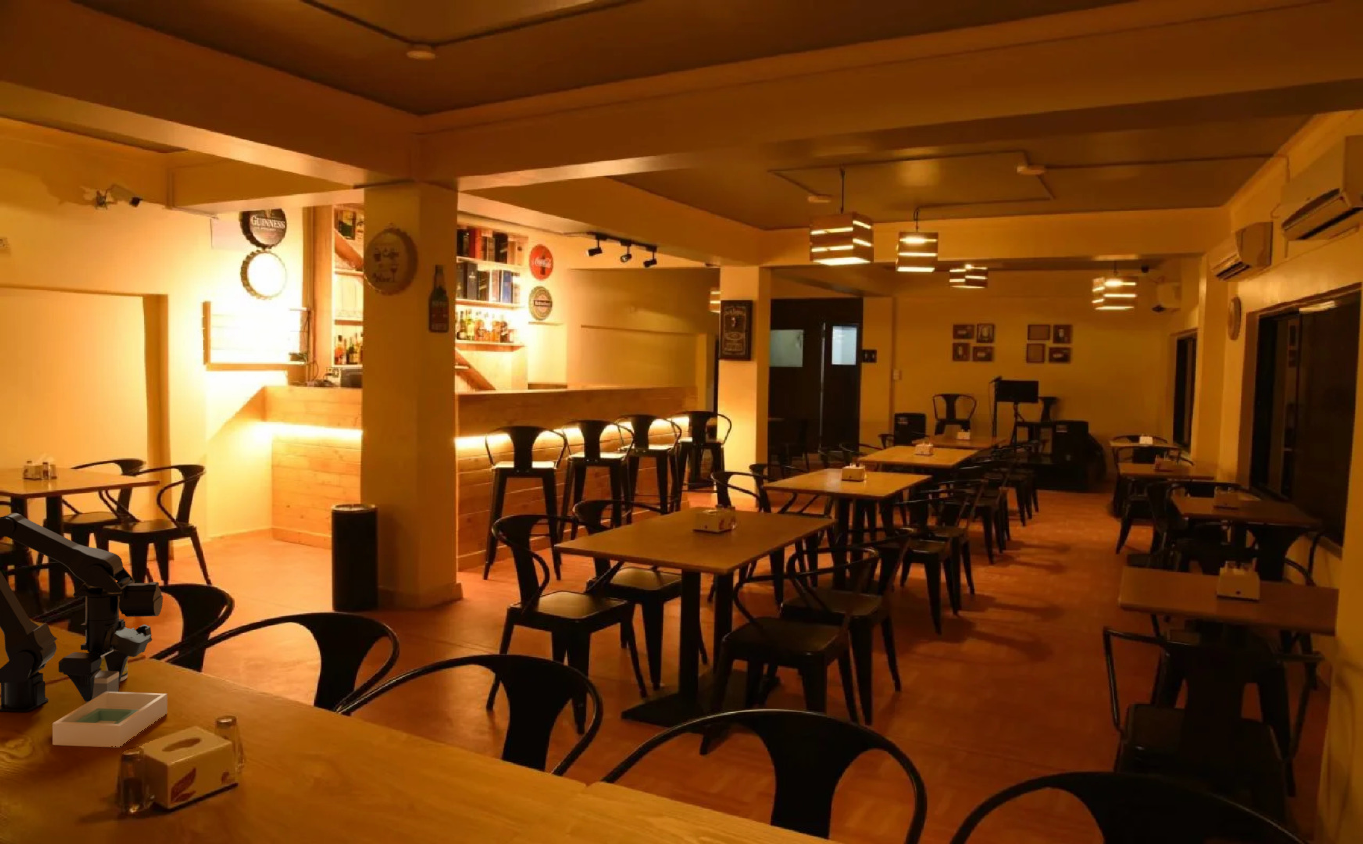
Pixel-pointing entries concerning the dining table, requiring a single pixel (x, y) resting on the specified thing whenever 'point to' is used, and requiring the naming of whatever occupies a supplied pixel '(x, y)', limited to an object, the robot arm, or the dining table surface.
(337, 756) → the dining table surface
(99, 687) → the square block
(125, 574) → the robot arm
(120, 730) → the walled box
